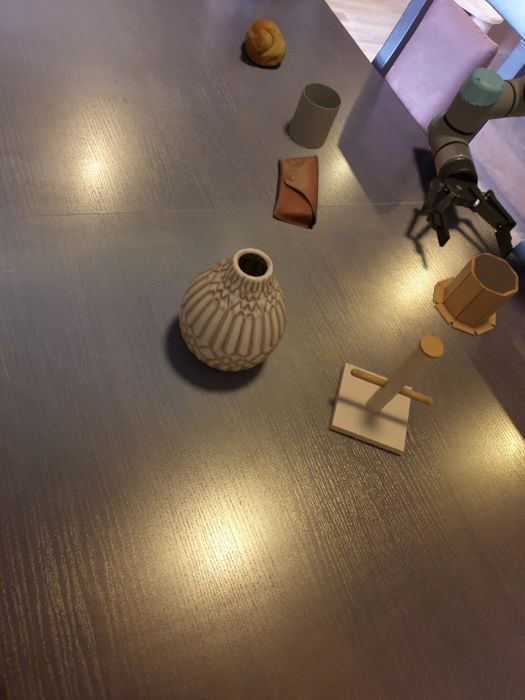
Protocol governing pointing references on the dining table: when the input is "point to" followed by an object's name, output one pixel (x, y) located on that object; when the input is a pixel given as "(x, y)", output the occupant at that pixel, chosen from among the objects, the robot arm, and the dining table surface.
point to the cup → (314, 115)
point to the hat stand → (381, 399)
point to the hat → (476, 294)
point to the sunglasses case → (298, 191)
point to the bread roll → (265, 43)
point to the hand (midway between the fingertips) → (476, 248)
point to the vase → (234, 312)
